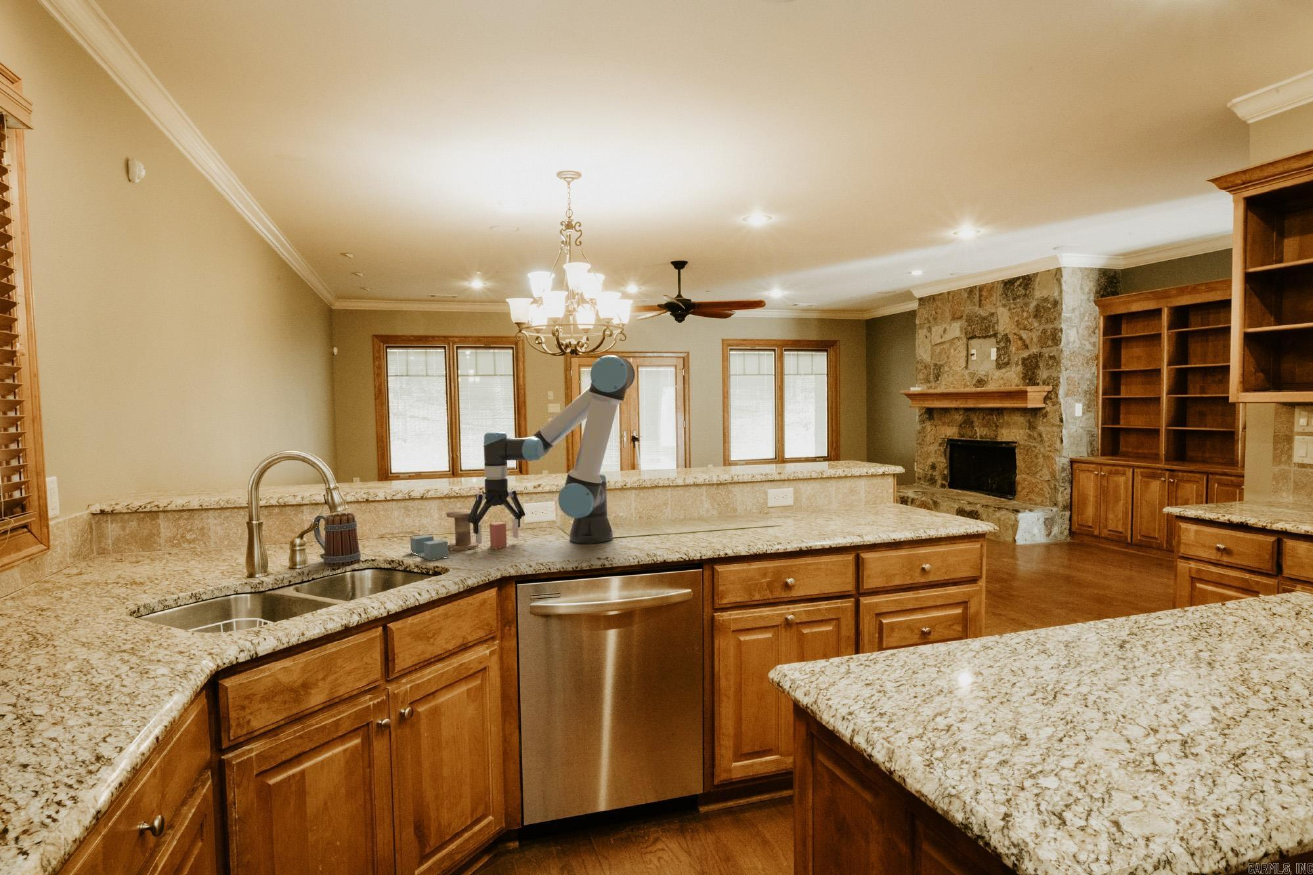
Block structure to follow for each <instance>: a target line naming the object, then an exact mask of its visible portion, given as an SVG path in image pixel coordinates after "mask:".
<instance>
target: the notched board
mask: <svg viewBox="0 0 1313 875" xmlns="http://www.w3.org/2000/svg"><path fill="white" fill-rule="evenodd" d="M409 539H410V552H411V551H412V552H413V553H416V554H418V555H420V556H422V557H424V558H426V559H425V560H427V559H428V560H427V561H429V560H432V561H434V560H433V559H438V560H441V559H440V558H443V559H445V558H444V557H448V558H449V549H448V545H449V544H448V543H449V542H448V541H447V540H445V539H436V540H434V535H431V534H424V535H423V534H422V535H415V536H410V537H409ZM413 553H412V554H413ZM420 556H419V557H420ZM422 557H421V558H422ZM424 558H423V559H424Z"/></svg>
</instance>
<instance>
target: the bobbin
mask: <svg viewBox="0 0 1313 875" xmlns="http://www.w3.org/2000/svg"><path fill="white" fill-rule="evenodd" d="M471 510H472V509H458V510H450V511H448V512H446V517H447V518H452V519H454V539H455V542H452V543H449V544H448V550H449V549H452V550H451V551H453V550H463V551H467V550H466V549H471V550H474V549H473V548H475V549H477V548H479V547H478V546H479V545H480V544H478V543H476V541H472V539H471V538H472V537H471V536H472V535H471V534H472V533H471V523H469V522H468V521H467V520H468V517H469V515H470V512H471ZM476 547H477V548H476Z"/></svg>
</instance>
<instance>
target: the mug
mask: <svg viewBox="0 0 1313 875" xmlns="http://www.w3.org/2000/svg"><path fill="white" fill-rule="evenodd" d="M321 520H323V521H324V527H323V531H324V538H323V536H322V534H321V531H320V523H321V522H320V521H321ZM315 522H318V526H317V528H315V529H314V530H313V529H312V530H313V534H314V537H315V540H316V542H317V543H318V544H319V545H320V547H321V548H322V550H323V551H324V552H322V553H319V557H320V559H322V560H323V563H324V565H325V566H327V567H345V566H351V565H355V564H358V563H359V562H360V561H361V556H362V555H361V550H360V546H359V544H360V543H359V538H358V530H357V527H358V524H357V520H356V515H355V513H354V512H353V513H351V512H347V513H346V512H341V513H334V514H333V513H332V514H329V515H327V514H319V515H317V516H316V517H314V520H313V523H312V525H313V524H314V523H315Z"/></svg>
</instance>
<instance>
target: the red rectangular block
mask: <svg viewBox="0 0 1313 875" xmlns="http://www.w3.org/2000/svg"><path fill="white" fill-rule="evenodd" d="M489 539H490V540H489V541H490V545H489V546H490V548H492V547H494V548H493V549H495V548H497V549H500V548H499V547H503V548H507V547H508V545H507V544H508V542H507V522H502V521H499V522H498V521H497V522H491V523H489ZM506 546H507V547H506Z"/></svg>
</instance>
